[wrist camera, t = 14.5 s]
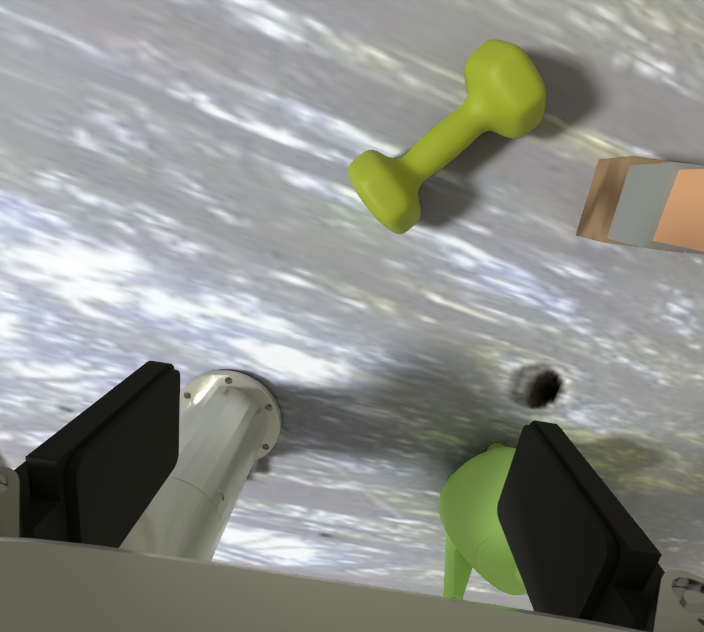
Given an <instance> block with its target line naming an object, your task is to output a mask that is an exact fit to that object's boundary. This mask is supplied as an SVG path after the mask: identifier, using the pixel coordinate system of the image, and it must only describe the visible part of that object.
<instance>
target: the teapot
mask: <svg viewBox="0 0 704 632" xmlns="http://www.w3.org/2000/svg"><path fill="white" fill-rule="evenodd" d="M515 450H516V448H512V447H506V446H505V445H504V444H502V443H494V444H491V445H490V446H489V447H488V448H487V450H486V452H483V453H481V454H479V455H477V456H475V457H473V458H471V459H470V460H468V461H467V462H465V463H464V464H463V465H462V466H461V467H460V468H459V469H458V470H457V471H456V472H455V473H452V474H451V475H450V476H449V477H448V482H447V483H446V484H445V486H444V488H443V490H442V492H441V494H440V497H439V502H438V508H439V513H440V517H441V520H442V523H443V525H444V528H445V530H446V552H445V576H444V597H448V598H454V599H460V600H463V595H464V592H465V589H466V586H467V583H468V580H469V577H470V573H471V570H472V567H473V568H474V569H475V570H476V571H477V572H478V573H479V574H480V575H481V576H482V577H483V578H484V579H485V580H487V581H488V582H489V583H490V584H492V585H493V586H494V587H496V588H497V589H499V590H501V591H503V592H505V593H508V594H513V595H521V594H527V591H526V588H525V586H524V583H523V581H522V578H521V576H520V573H519V571H518V568H517V565H516V563H515V560H514V558H513V555H512V553H511V550H510V547H509V545H508V542H507V540H506V537H505V535H504V532H503V530H502V527H501V524H500V522H499V519H498V515H497V505H498V501H499V498H500V495H501V492H502V489H503V486H504V483H505V480H506V477H507V474H508V471H509V468H510V465H511V462H512V459H513V456H514V453H515Z"/></svg>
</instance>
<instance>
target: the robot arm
mask: <svg viewBox="0 0 704 632" xmlns="http://www.w3.org/2000/svg"><path fill="white" fill-rule="evenodd" d="M269 404H270V405H269ZM281 422H282V420H281V412H280V409H279V406H278V404H277V402H276V400H275V398H274V397H273V395H272V394H271V393H270V392H269V390H268V389H267V388H266V387H265V386H263V385H262V384H261V383H260V382H259V381H257V380H255V379H253V378H252V377H250V376H248V375H245V374H242V373H239V372H234V371H229V370H218V371H212V372H208V373H205V374H202V375H200V376H198V377H197V378H195V379H193V380H192V381H191V382H190V383H189V384H188V385H187V386H186V387H185V388H184V389H183V391H182V392H181V394H180V373H179V371H178V370H174V366H173V365H172V364H169V363H162V362H156V361H148V362H147V363H145V364H144V365H143V366H141V367H140V368H139V369H138V370H136V371H135V372H134V373H132V374H131V375H130V376H129V377H127V378H126V379H125V380H123V381H122V382H121V383H120V384H118V385H117V386H116V387H114V388H113V389H112V390H111V391H109V392H108V393H107V394H105V395H104V396H103V397H102V398H100V399H99V400H98V401H96V402H95V403H94V404H93V405H91V406H90V407H89V408H88V409H86V410H85V411H84V412H82V413H81V414H80V415H79V416H77V417H76V418H75V419H73V420H72V421H71V422H70V423H68V424H67V425H66V426H64V427H63V428H62V429H61V430H59V431H58V432H57V433H55V434H54V435H53V436H52V437H50V438H49V439H48V440H46V441H45V442H44V443H43V444H41V445H40V446H39V447H37V448H36V449H35V450H34V451H32V452H31V453H30V454H29V455H27V456H26V461H25V462H24V463H23V464H21V465H20V466H19V467H18V468H16V469H15V470H12V469H11V468H8V467H3V466H0V632H704V579H703V578H701V577H699V576H697V575H695V574H691V573H688V572H685V571H680V570H670V571H667V572H664V571H663V569H662V568H661V567H660V565H659V564H658V561H659V559H660V557H661V553H660V552H659V551H658V550H657V548H656V547H655V546H654V545H653V543H652V542H651V541H650V540H649V538H648V537H647V536H646V535H645V533H644V532H643V531H642V530H641V528H640V527H639V526H638V525H637V523H636V522H635V521H634V520H633V518H632V517H631V516H630V515H629V513H628V512H627V511H626V510H625V508H624V507H623V506H622V505H621V503H620V502H619V501H618V500H617V498H616V497H615V496H614V495H613V493H612V492H611V491H610V490H609V488H608V487H607V486H606V485H605V483H604V482H603V481H602V479H601V478H600V477H599V476H598V474H597V473H596V472H595V471H594V469H593V468H592V467H591V466H590V464H589V463H588V462H587V461H586V459H585V458H584V457H583V456H582V454H581V453H580V452H579V451H578V449H577V448H576V447H575V446H574V444H573V443H572V442H571V441H570V439H569V438H568V437H567V436H566V434H565V433H564V432H563V431H562V429H561V428H560V427H559V426H558V425H557V424H553V423H547V422H540V421H532V422H531V424H530V425H525V426H524V427H523V430H522V432H521V435H520V438H519V441H518V444H517V447H516V450H515V453H514V456H513V459H512V462H511V465H510V468H509V471H508V474H507V477H506V480H505V483H504V486H503V489H502V492H501V495H500V498H499V501H498V505H497V515H498V519H499V522H500V524H501V527H502V530H503V532H504V535H505V537H506V540H507V542H508V545H509V547H510V550H511V553H512V555H513V558H514V560H515V563H516V565H517V568H518V571H519V573H520V576H521V578H522V581H523V583H524V586H525V588H526V591H527V594H528V596H529V599H530V601H531V604H532V606H533V609H534V611H530V610H523V609H517V608H511V607H504V606H498V605H492V604H486V603H479V602H473V601H467V600H460V599H454V598H448V597H442V596H435V595H429V594H423V593H416V592H410V591H403V590H397V589H390V588H384V587H377V586H371V585H364V584H358V583H351V582H345V581H338V580H332V579H325V578H318V577H312V576H305V575H299V574H292V573H286V572H279V571H272V570H265V569H259V568H252V567H245V566H238V565H231V564H224V563H218V562H211V560H212V557H213V555H214V553H215V550H216V548H217V546H218V543H219V541H220V539H221V536H222V534H223V532H224V529H225V527H226V525H227V522H228V520H229V518H230V515H231V513H232V511H233V509H234V506H235V504H236V502H237V499H238V497H239V495H240V492H241V490H242V488H243V485H244V483H245V481H246V478H247V476H248V474H249V471H250V469H251V467H252V464H253V462H254V461H257V460H258V459H260V458H262V457H264V456H265V455H266V454H267V453H268V452H270V450H271V449H272V448H273V446H274V445H275V443H276V441H277V439H278V437H279V433H280V430H281Z"/></svg>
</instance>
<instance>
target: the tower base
mask: <svg viewBox="0 0 704 632" xmlns="http://www.w3.org/2000/svg"><path fill="white" fill-rule="evenodd" d="M669 162H671V161H663V160H655V159H647V158H640V157H632V156H630V157H620V158H610V159H601V160H599V161H598V164H597V167H596V171H595V174H594V177H593V180H592V184H591V187H590V190H589V193H588V197H587V200H586V203H585V207H584V210H583V213H582V216H581V220H580V223H579V226H578V229H577V233H576V235H577V236H581V237H585V238H588V239H592V240H596V241H600V242H605V243H612V244H620V245H628V246H635V245H631V244H627V243H623V242H619V241H614V240H610V239H607V237H608V233H609V230H610V227H611V224H612V221H613V218H614V214H615V211H616V208H617V205H618V202H619V198H620V195H621V192H622V189H623V186H624V182H625V179H626V176H627V173H628V170H629V166H630V165H640V164H655V163H669ZM677 163H679V162H677ZM635 247H639V246H635ZM643 248H644V247H643ZM650 249H652V248H650ZM658 250H661V249H658ZM666 251H669V250H666ZM673 252H678V251H673ZM681 253H683V252H681Z"/></svg>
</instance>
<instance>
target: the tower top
mask: <svg viewBox="0 0 704 632" xmlns="http://www.w3.org/2000/svg"><path fill="white" fill-rule="evenodd" d="M683 169H704V165H695V164H686V163H677V162H669V163H655V164H640V165H630V166H629V170H628V173H627V176H626V179H625V182H624V186H623V189H622V192H621V195H620V198H619V202H618V205H617V208H616V211H615V214H614V218H613V221H612V224H611V227H610V230H609V233H608V237H607V239H610V240H614V241H619V242H623V243H627V244H631V245H635V246H639V247H644V248H652V249H661V250H669V251H678V252H687V253H696V254H704V252H703V251H698V250H693V249H689V248H684V247H679V246H675V245H670V244H665V243H661V242H656V241H653V238H654V236H655V233H656V230H657V228H658V225H659V222H660V219H661V217H662V214H663V211H664V209H665V206H666V203H667V201H668V198H669V195H670V193H671V190H672V187H673V185H674V182H675V179H676V177H677V174H678V171H679V170H683Z"/></svg>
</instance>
